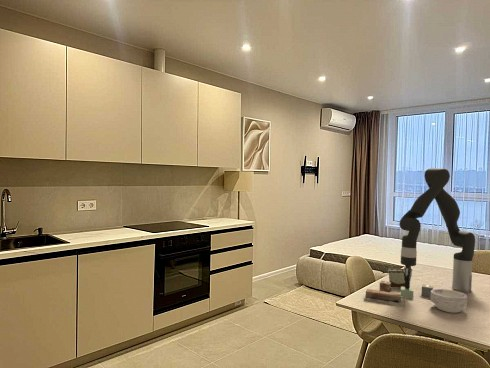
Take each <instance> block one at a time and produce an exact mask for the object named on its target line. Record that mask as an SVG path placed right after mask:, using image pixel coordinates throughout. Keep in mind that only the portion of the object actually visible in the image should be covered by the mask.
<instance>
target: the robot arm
mask: <svg viewBox="0 0 490 368" xmlns="http://www.w3.org/2000/svg"><path fill="white" fill-rule="evenodd" d="M450 176H451V175H450V171H449V170H448V169H446V168H443V167H441V168H440V167H438V168H437V167H436V168H435V167H434V168H433V167H431V168H428V169H426V170H425V171H424V181H425V183H426V185H427V186H428V189H426V191H424V192H423V193H421V194H420V195H419V196H418V197H417V198H416V199H415V200H414V203H413V204H412V206H411V208H410V209H409V210H407V212H406V213H405V214H404V215H403V216H402V217H401V219H400V220H399V227H400V229H401V230H403V231H406V232H408V233H407V235H403V236H402V238H401V250H400V264H401V265H402V266H404V268H403V269H404V281H405V288H406V289H409V288H411V287H410V286H411V279H412V277H413V276H412V274H413V268H412V267H415V266H416V265H417V256H418V255H417V253H418V251H417V250H418V249H417V241H418V237H419V235H420V232H421V228H422V227H421V226H422V224H421V221H420V220H419V219H421V218H423V216H425V213H426V212H427V210H428V208H429V207H430V205H431V204H432V202H433V201H434V200H435V202H436V204H437V206H438V209H439V211H440V214H441V216H442V219H443V220H444V223H445V226H446V228H447V232H448V235H449V239H450V241H451V244H452V245H454V246H455V247H459V248H462V250H461V251H460V252H459V251H458V252H455V253H454V254H453V259H452V260H453V264H452V281H451V282H452V284H451V285H452V288H451V289H453V290H454V291H457V292H463V293H464V292H465V293H467V292H469V293H471V292H472V281H473V280H472V279H473V259H474V255H475V247H476V236H475V234H474V233H473V232H469V231H464V230H460V228H459V225H458V221H459V218H460V215H461V211H460V208H459V205H458V203H457V201H456V200H455V199H454V198H453V196H452V195H450V194H449V192H447V191H446V190H445V189H444V188H445V187H446V186H447V184H448V183H449V181H450V178H451V177H450ZM418 218H419V219H418Z"/></svg>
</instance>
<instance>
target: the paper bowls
mask: <svg viewBox="0 0 490 368" xmlns="http://www.w3.org/2000/svg"><path fill="white" fill-rule="evenodd" d="M430 296H431V297H429V298H430V299H429V300H430V302H432V304H434V306H435V308H436V309H438V310H439V311H442V312H446V313H451V314H452V313H454V314H457V313H460V312H462V310H463V309H465V308H467V307H468V306H467V305H468V295H467V294H465V293H464V292H462V291H458V290H454V289H453V290H451V289H445V288H444V289H443V288H433V290H431V295H430Z"/></svg>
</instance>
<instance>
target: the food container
mask: <svg viewBox="0 0 490 368" xmlns="http://www.w3.org/2000/svg"><path fill="white" fill-rule="evenodd" d="M387 274H388V279H389V281H388V282H391V289H392V288H395V289H396V288H397V289H401V287H405V281H404V268H400V267H390V268H388V270H387Z"/></svg>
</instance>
